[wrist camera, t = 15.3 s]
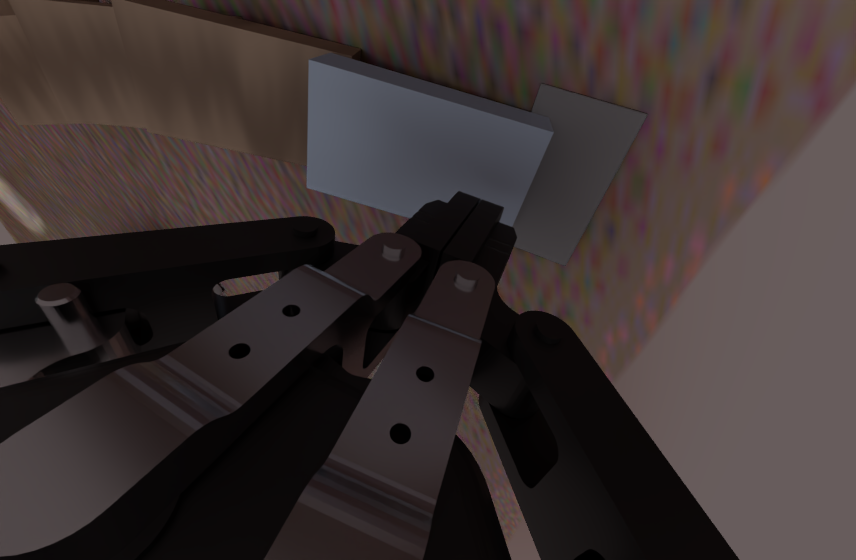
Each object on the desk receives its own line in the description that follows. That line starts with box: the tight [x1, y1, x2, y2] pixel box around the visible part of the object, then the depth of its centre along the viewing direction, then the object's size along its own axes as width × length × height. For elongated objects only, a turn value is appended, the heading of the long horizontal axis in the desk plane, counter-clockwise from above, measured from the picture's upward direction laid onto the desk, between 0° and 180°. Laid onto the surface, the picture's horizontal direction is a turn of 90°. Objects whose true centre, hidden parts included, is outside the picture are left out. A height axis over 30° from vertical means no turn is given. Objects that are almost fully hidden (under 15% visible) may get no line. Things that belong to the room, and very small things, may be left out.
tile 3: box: [9, 0, 242, 128], centre depth 18 cm, size 5×2×9 cm
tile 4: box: [0, 15, 82, 125], centre depth 20 cm, size 5×2×9 cm
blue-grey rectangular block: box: [307, 53, 554, 227], centre depth 15 cm, size 5×2×9 cm
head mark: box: [512, 83, 648, 266], centre depth 16 cm, size 7×4×1 cm, turn 168°
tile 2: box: [111, 0, 361, 166], centre depth 16 cm, size 5×2×9 cm
